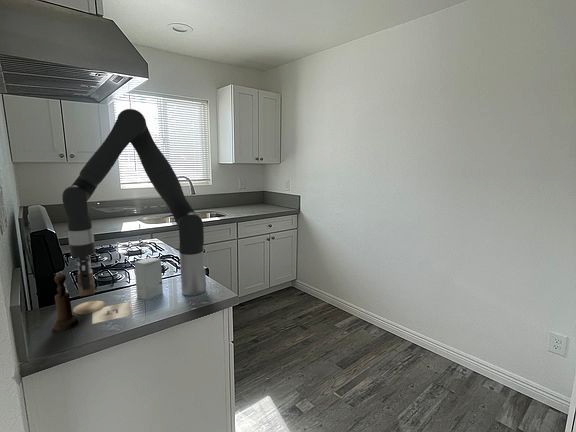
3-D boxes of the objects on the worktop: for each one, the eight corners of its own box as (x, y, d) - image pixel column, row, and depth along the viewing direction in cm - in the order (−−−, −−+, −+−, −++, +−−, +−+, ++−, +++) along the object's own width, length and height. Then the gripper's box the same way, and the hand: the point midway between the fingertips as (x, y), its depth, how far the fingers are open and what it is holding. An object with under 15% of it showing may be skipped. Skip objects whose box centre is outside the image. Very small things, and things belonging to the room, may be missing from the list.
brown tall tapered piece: (50, 327, 105) (43, 275, 102) (72, 319, 110) (66, 269, 107) (59, 333, 102) (52, 279, 98) (81, 325, 107) (75, 273, 104)
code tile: (129, 302, 123) (128, 301, 123) (131, 315, 113) (131, 315, 113) (92, 309, 117) (92, 309, 117) (92, 324, 107) (92, 323, 107)
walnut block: (94, 289, 120) (92, 269, 119) (94, 293, 117) (92, 272, 115) (80, 291, 118) (77, 271, 117) (79, 296, 114) (77, 275, 113)
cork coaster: (104, 300, 125) (104, 298, 125) (105, 310, 117) (105, 309, 117) (74, 305, 120) (73, 304, 120) (72, 317, 112) (72, 315, 112)
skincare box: (146, 300, 125) (143, 264, 122) (136, 297, 128) (133, 261, 125) (164, 293, 132) (161, 258, 129) (154, 290, 135) (151, 256, 132)
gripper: (94, 245, 110) (99, 292, 113) (94, 236, 122) (98, 278, 125) (67, 247, 106) (73, 296, 109) (70, 238, 118) (75, 282, 121)
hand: (86, 286), depth 117 cm, fingers closed on walnut block, 4 cm apart
